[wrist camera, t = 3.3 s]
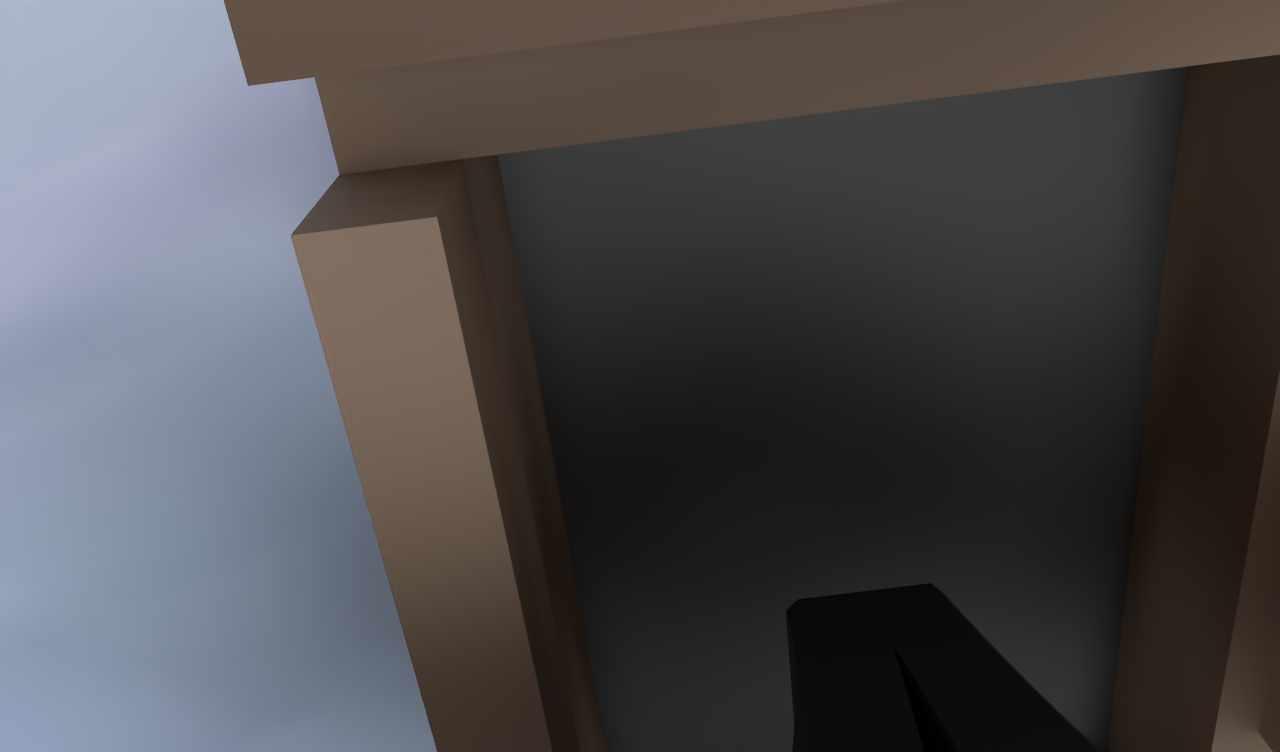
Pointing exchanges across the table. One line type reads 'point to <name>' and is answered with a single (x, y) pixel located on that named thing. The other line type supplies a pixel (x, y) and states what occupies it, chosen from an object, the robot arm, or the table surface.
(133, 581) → the table surface
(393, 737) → the table surface
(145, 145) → the table surface
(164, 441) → the table surface
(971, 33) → the box
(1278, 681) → the maple block
